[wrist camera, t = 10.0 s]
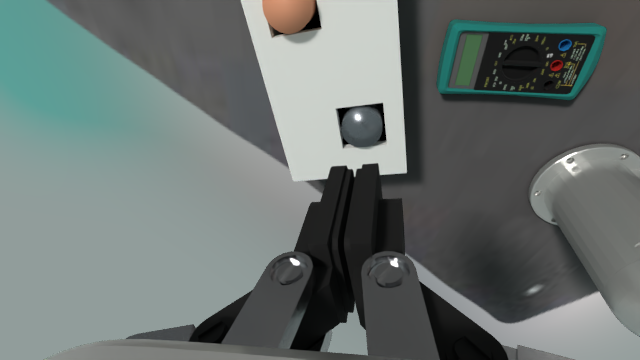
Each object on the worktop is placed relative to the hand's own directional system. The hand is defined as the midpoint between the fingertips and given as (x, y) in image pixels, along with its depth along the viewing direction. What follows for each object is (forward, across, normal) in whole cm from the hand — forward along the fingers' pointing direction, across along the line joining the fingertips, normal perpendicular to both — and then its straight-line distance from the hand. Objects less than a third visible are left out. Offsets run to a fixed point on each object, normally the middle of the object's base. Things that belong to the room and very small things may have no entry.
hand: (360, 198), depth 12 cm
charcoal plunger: (+29, +3, +8) cm, 30 cm away
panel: (+30, +6, +1) cm, 30 cm away
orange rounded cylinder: (+27, +8, -5) cm, 29 cm away
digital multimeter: (+31, -13, +4) cm, 34 cm away
